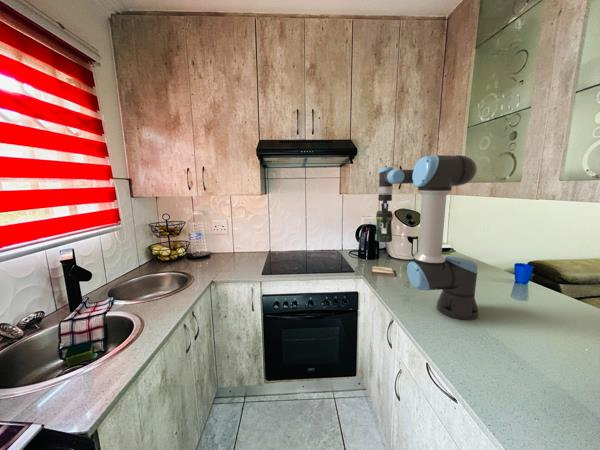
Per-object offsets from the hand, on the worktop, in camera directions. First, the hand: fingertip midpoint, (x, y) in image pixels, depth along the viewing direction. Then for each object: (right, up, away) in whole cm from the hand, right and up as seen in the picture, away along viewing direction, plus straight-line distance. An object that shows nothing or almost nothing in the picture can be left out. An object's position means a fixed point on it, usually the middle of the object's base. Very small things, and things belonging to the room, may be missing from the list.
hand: (383, 231), depth 151 cm
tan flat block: (0, -25, +4) cm, 26 cm away
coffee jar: (0, -6, +1) cm, 6 cm away
